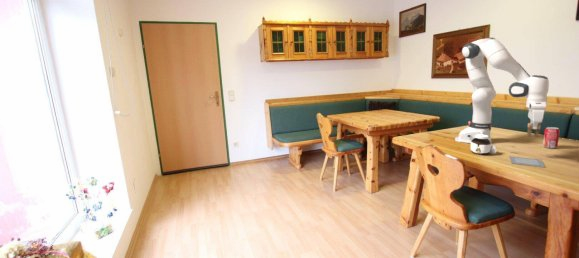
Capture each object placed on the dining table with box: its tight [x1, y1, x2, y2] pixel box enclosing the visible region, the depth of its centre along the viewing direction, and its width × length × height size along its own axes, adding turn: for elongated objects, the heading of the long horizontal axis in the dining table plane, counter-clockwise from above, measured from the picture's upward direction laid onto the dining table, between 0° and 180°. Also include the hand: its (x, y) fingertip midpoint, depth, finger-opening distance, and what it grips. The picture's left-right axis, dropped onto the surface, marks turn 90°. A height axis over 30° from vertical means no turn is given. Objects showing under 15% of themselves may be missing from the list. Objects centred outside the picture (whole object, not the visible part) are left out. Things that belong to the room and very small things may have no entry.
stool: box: [526, 122, 542, 138], centre depth 163 cm, size 5×5×7 cm
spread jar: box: [470, 134, 497, 156], centre depth 176 cm, size 12×11×12 cm
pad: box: [509, 155, 546, 168], centre depth 159 cm, size 14×14×1 cm
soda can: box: [542, 126, 561, 150], centre depth 181 cm, size 7×7×13 cm
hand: (533, 127), depth 163 cm, fingers closed on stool, 5 cm apart
